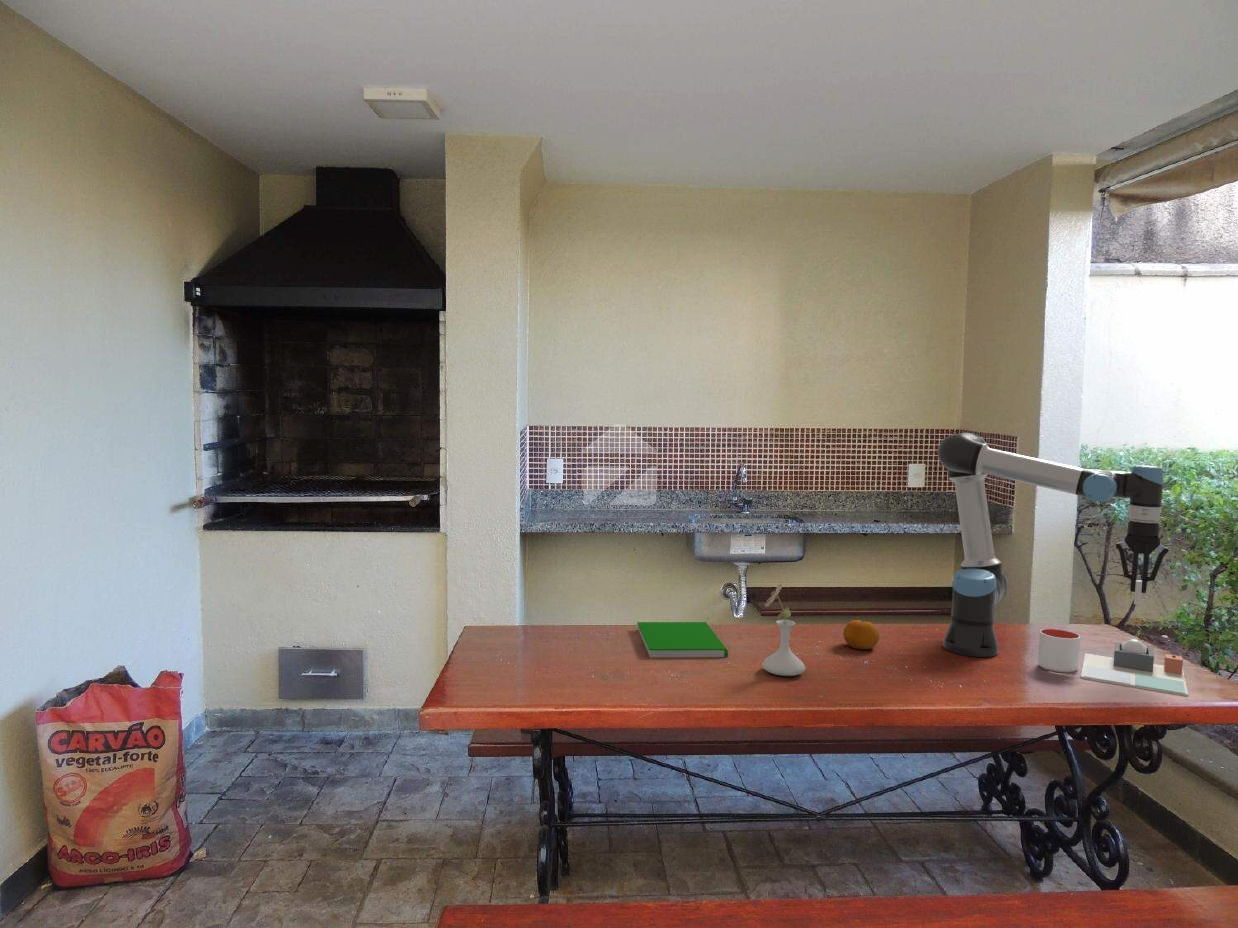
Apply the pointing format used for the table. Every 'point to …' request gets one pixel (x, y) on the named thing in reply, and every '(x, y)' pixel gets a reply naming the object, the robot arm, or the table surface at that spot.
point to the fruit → (861, 634)
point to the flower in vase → (783, 645)
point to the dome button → (1134, 646)
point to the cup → (1059, 650)
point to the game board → (1138, 674)
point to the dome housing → (1133, 659)
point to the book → (680, 639)
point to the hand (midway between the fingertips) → (1137, 603)
